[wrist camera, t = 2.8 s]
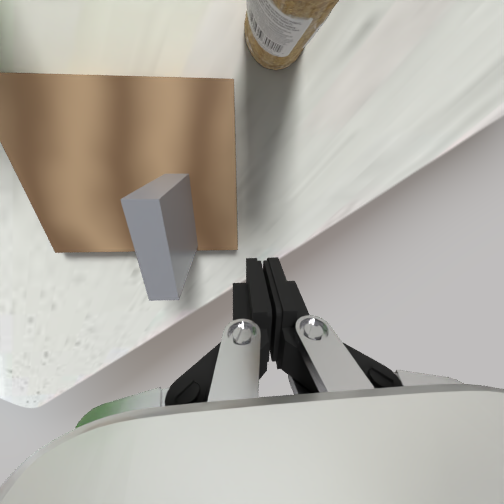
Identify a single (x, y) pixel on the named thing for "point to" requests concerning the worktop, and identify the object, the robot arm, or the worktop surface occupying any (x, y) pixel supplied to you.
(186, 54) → the worktop surface
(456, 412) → the robot arm
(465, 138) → the worktop surface
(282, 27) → the sprinkles bottle
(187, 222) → the tile
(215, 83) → the board
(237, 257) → the worktop surface
